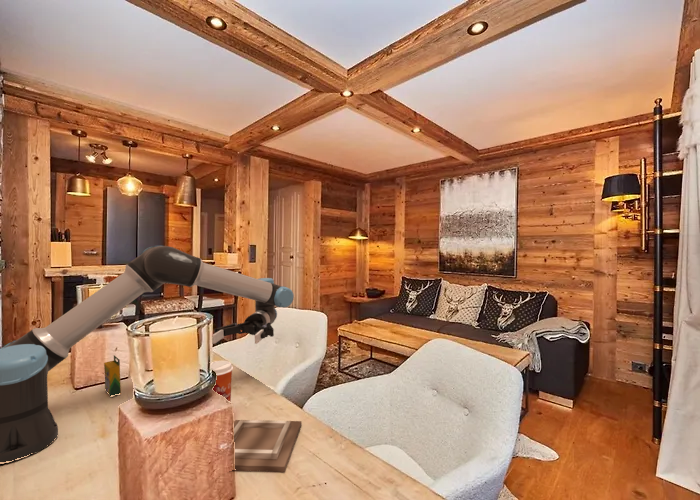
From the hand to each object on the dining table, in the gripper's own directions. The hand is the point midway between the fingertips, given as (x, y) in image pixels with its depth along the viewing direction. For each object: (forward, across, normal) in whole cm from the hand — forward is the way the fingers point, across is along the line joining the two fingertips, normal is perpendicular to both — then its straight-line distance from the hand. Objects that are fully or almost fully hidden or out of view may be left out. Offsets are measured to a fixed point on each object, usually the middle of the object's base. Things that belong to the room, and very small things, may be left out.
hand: (234, 339), depth 104 cm
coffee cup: (+12, 0, -19) cm, 22 cm away
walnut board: (+24, -15, -19) cm, 34 cm away
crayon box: (-2, +42, -19) cm, 46 cm away
